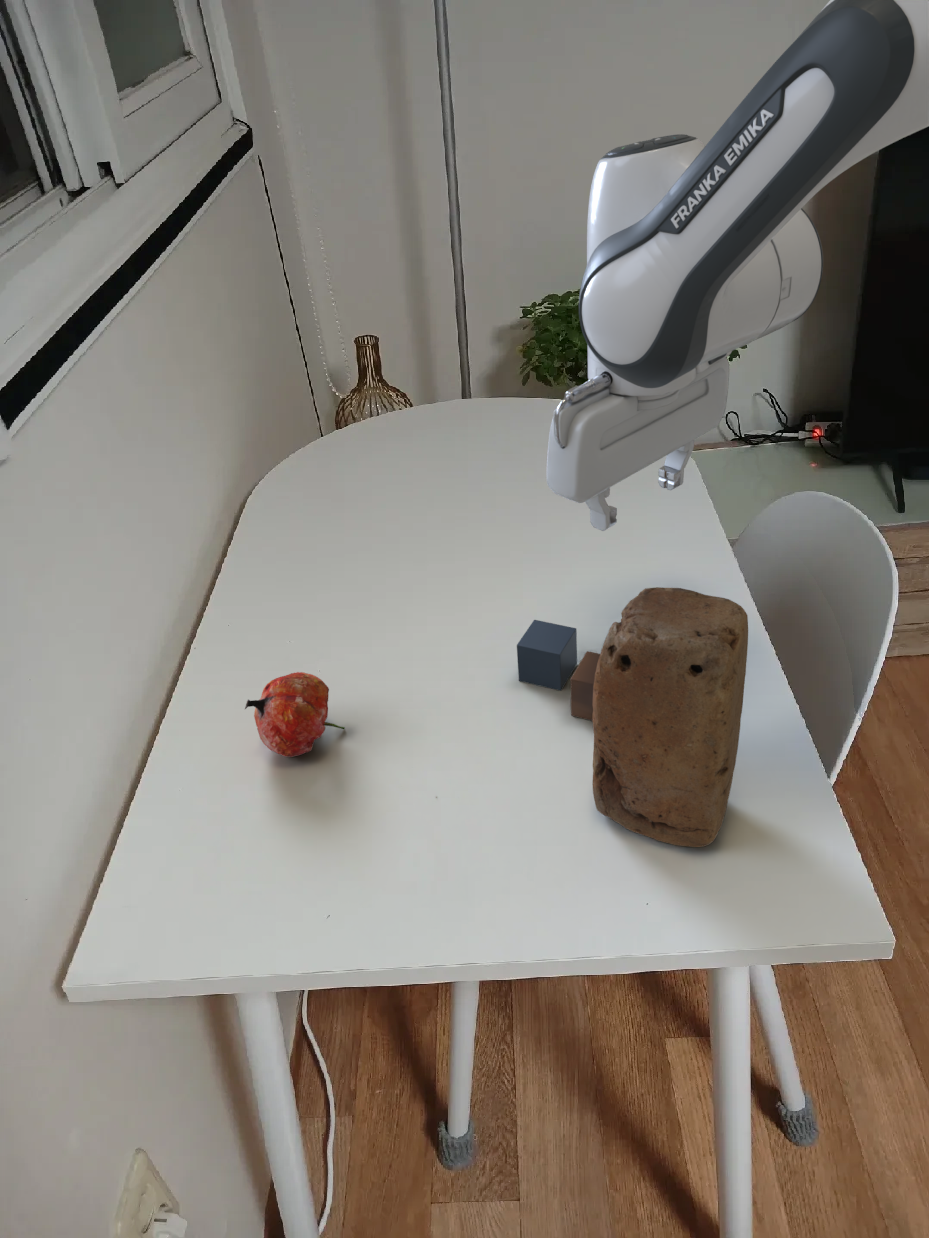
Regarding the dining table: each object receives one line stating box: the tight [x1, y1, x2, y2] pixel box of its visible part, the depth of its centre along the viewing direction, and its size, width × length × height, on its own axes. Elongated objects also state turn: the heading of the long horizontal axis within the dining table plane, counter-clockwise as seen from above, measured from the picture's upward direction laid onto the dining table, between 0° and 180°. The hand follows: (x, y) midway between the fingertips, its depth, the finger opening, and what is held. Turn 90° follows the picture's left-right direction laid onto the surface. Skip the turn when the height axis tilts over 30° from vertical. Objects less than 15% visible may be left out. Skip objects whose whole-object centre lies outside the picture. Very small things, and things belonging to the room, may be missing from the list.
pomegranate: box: [244, 671, 346, 758], centre depth 86 cm, size 7×7×10 cm
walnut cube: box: [569, 650, 600, 722], centre depth 87 cm, size 4×4×4 cm
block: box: [591, 586, 749, 848], centre depth 72 cm, size 11×8×20 cm
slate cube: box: [516, 619, 578, 691], centre depth 92 cm, size 4×4×4 cm
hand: (637, 505), depth 86 cm, fingers open, 8 cm apart
